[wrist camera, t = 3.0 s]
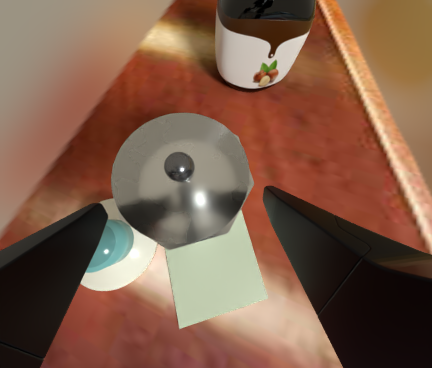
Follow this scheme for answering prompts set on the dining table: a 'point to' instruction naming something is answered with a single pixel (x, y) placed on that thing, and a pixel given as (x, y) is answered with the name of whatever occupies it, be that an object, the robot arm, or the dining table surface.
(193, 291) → the sage placemat
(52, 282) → the robot arm
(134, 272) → the teal puck on dish
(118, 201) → the grey metal canister
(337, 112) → the dining table surface
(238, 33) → the spread jar
